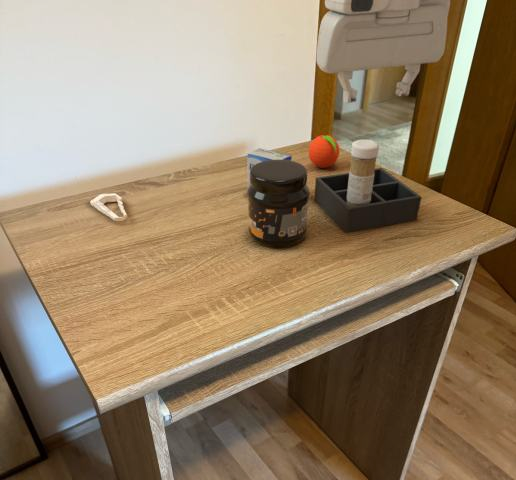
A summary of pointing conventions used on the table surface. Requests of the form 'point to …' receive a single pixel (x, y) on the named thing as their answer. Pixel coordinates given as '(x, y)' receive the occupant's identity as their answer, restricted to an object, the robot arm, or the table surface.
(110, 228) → the table surface
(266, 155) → the medicine box
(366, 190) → the sprinkles bottle
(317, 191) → the rack
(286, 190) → the supplement container
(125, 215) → the cream triangular ring
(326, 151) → the clementine
